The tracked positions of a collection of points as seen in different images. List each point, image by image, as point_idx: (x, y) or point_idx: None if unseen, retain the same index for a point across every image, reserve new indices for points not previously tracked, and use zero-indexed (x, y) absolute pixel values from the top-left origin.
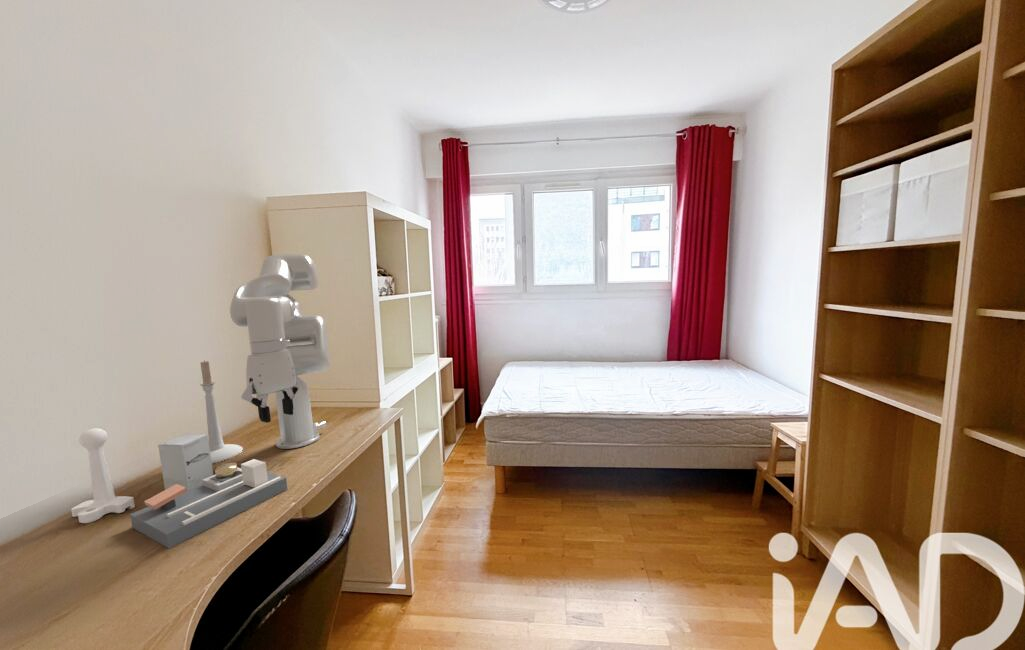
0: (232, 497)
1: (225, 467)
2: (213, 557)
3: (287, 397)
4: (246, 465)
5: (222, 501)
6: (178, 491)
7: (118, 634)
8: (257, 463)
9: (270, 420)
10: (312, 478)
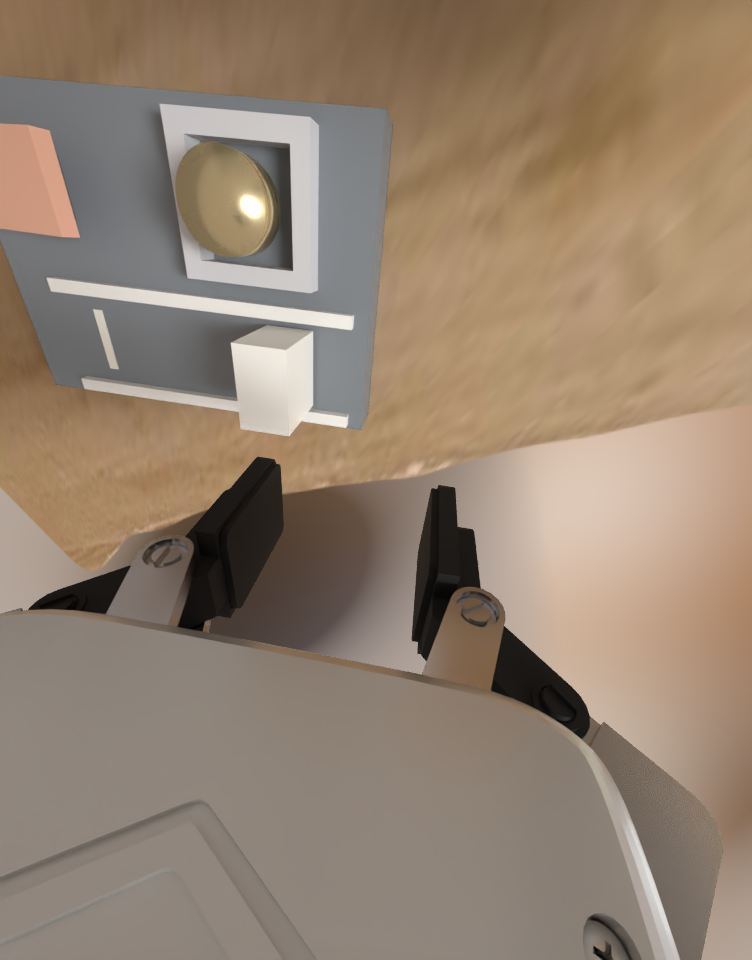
0: (213, 372)
1: (215, 213)
2: (147, 489)
3: (422, 654)
4: (238, 382)
5: (186, 365)
6: (41, 231)
7: (33, 512)
8: (269, 411)
9: (279, 532)
10: (443, 435)
